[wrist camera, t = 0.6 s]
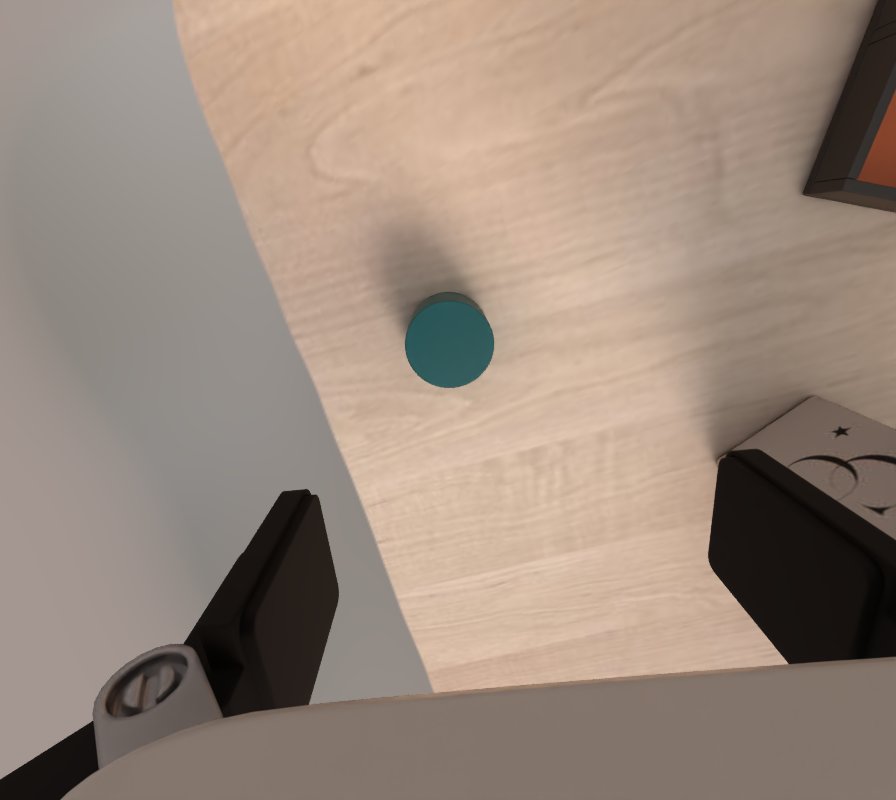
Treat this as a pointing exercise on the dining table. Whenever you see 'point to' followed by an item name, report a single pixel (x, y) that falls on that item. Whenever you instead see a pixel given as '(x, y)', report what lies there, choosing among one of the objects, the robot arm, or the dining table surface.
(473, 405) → the dining table surface
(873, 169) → the grid
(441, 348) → the cylinder
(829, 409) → the cereal box
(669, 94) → the dining table surface
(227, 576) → the robot arm
